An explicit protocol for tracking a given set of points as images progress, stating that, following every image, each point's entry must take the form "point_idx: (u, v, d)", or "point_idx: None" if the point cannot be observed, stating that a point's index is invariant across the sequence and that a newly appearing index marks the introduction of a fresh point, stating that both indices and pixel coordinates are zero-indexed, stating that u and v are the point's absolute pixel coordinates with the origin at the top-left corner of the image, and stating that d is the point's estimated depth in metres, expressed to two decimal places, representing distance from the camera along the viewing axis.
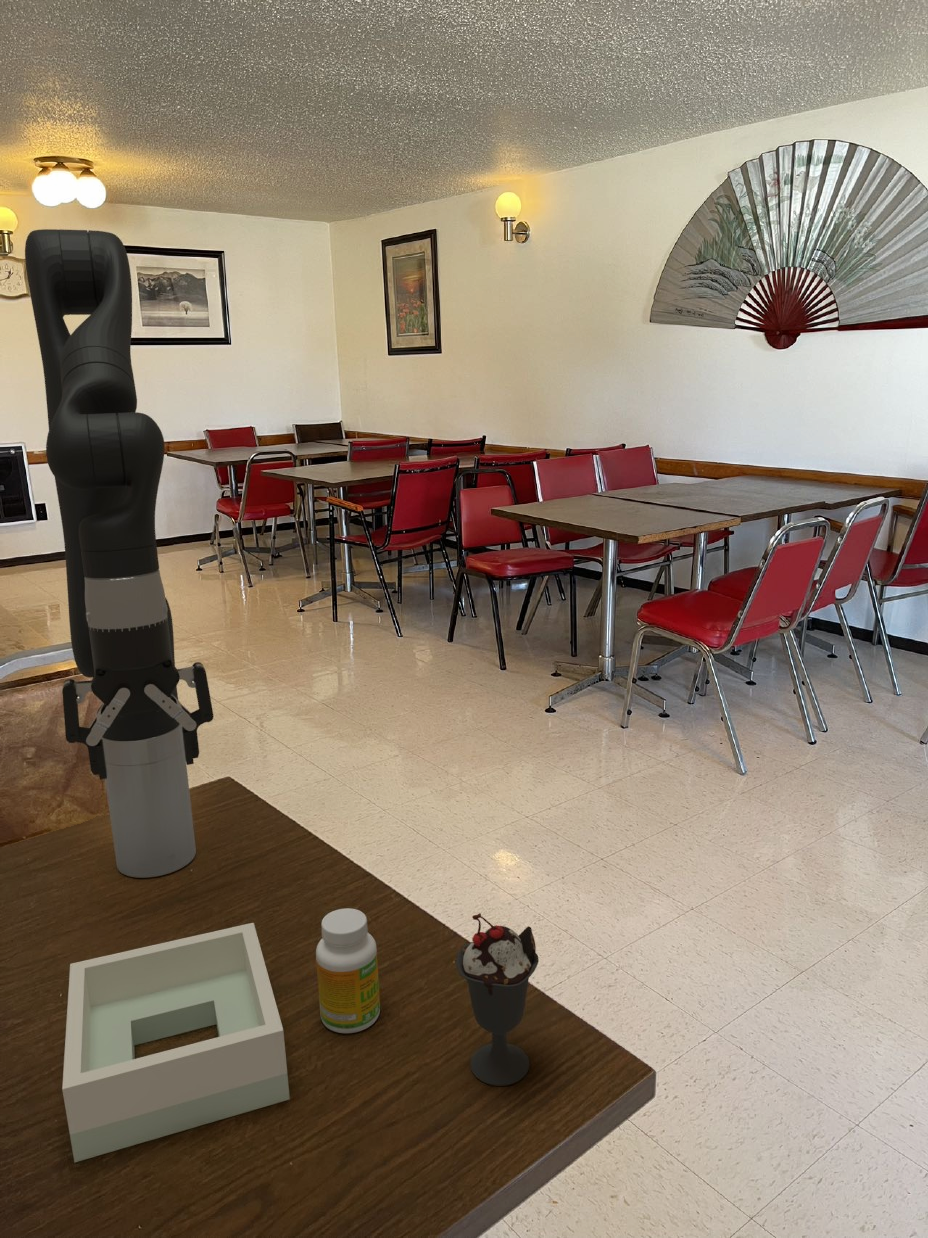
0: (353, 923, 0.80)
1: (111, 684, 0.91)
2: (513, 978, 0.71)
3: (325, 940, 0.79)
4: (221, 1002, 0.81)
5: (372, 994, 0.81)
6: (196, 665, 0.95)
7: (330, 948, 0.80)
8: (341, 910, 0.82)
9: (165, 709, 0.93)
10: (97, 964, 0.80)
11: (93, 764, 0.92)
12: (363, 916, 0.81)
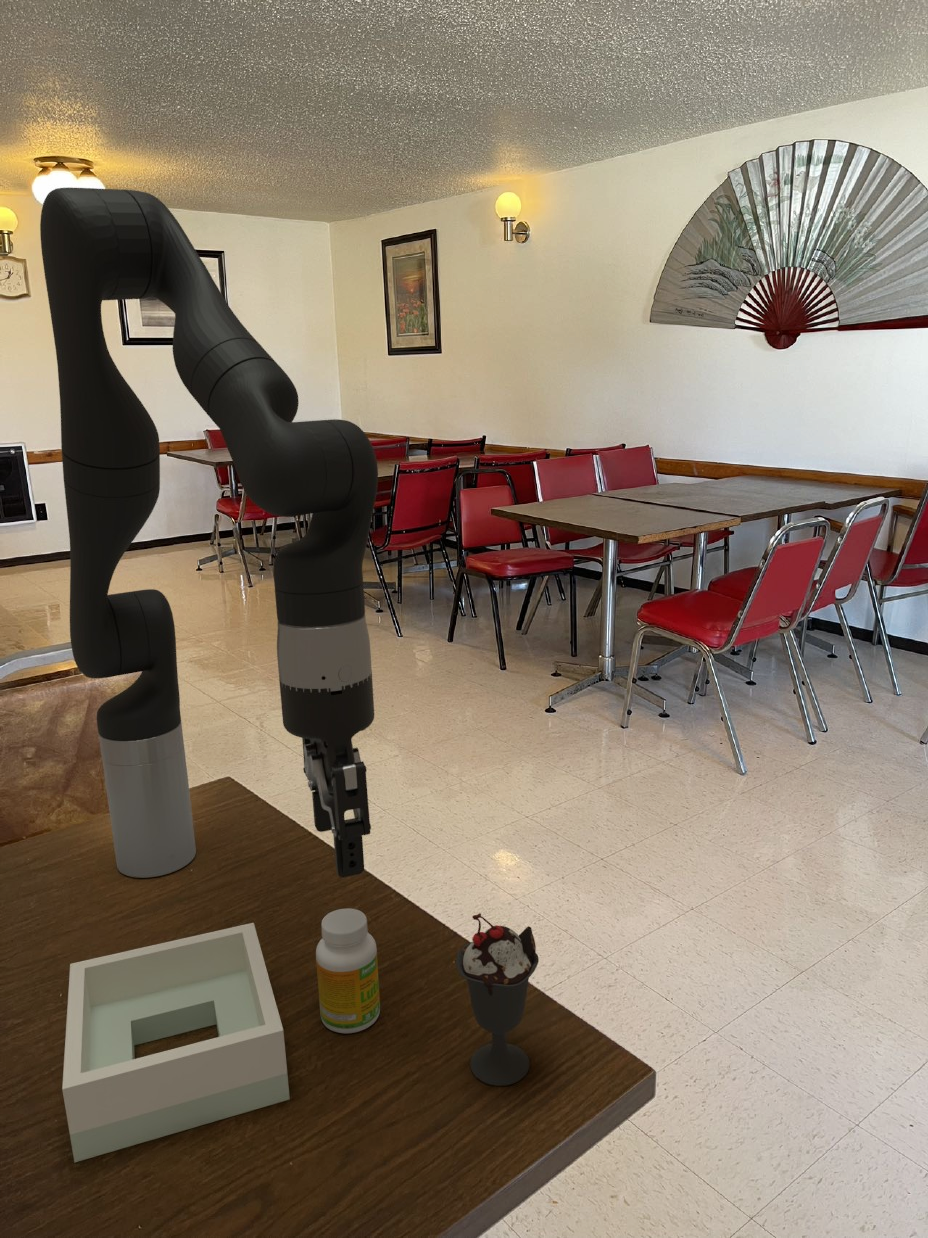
0: (353, 923, 0.80)
1: None
2: (513, 978, 0.71)
3: (325, 940, 0.79)
4: (221, 1002, 0.81)
5: (372, 994, 0.81)
6: None
7: (330, 948, 0.80)
8: (341, 910, 0.82)
9: None
10: (97, 964, 0.80)
11: None
12: (363, 916, 0.81)
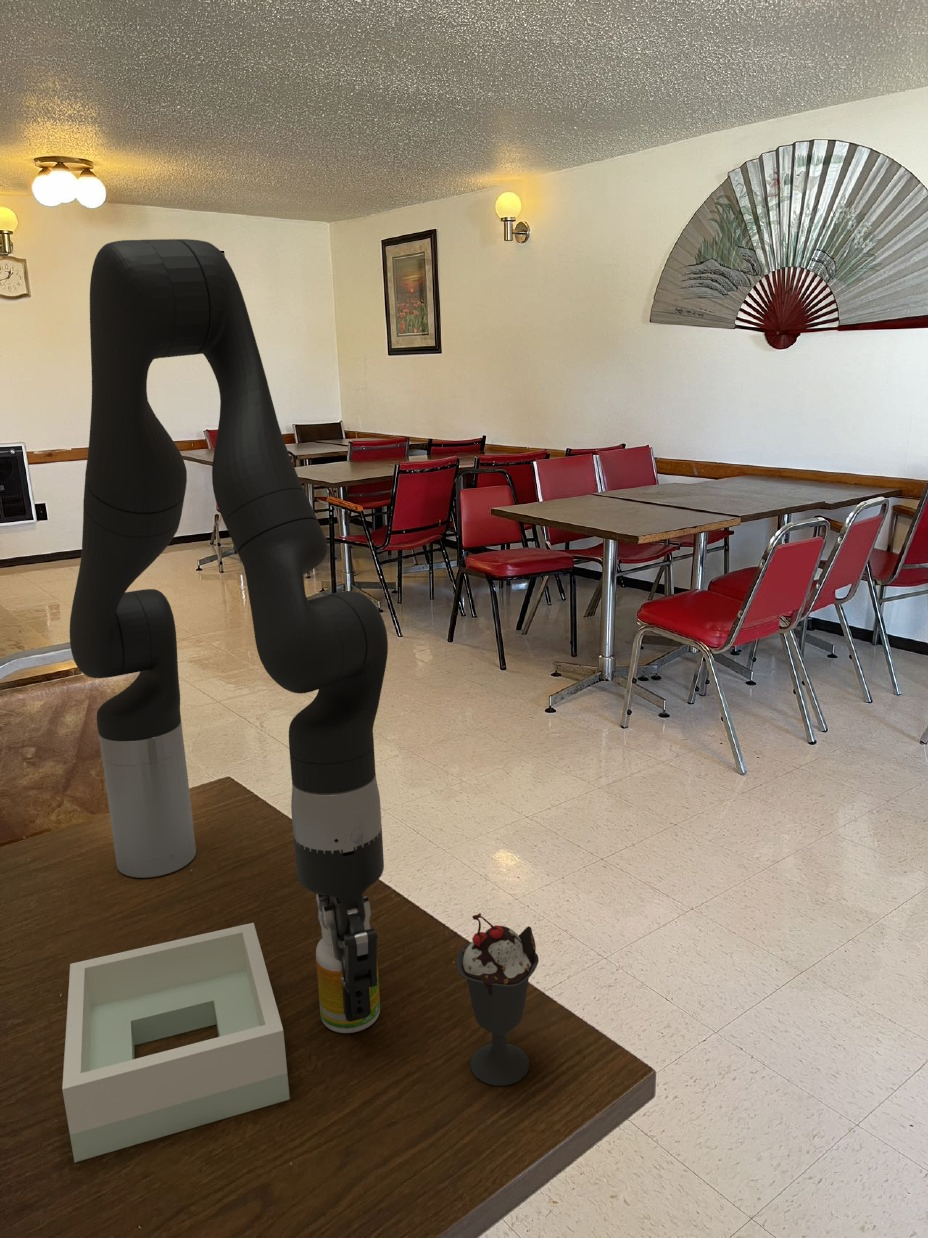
0: None
1: None
2: (513, 978, 0.71)
3: (325, 940, 0.79)
4: (221, 1002, 0.81)
5: (372, 993, 0.81)
6: None
7: (329, 947, 0.80)
8: None
9: None
10: (97, 964, 0.80)
11: None
12: None
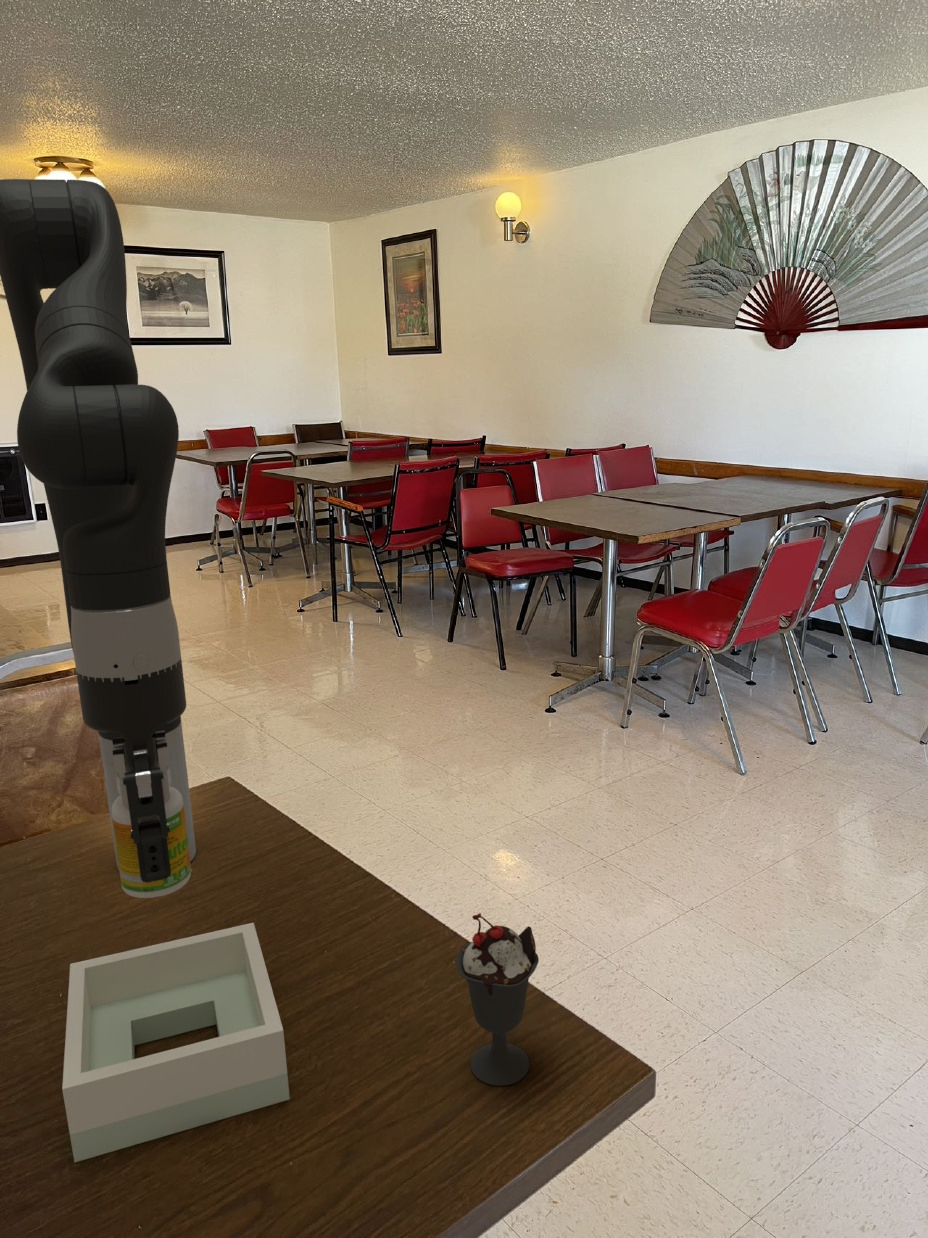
0: None
1: None
2: (513, 978, 0.71)
3: (119, 791, 0.70)
4: (221, 1002, 0.81)
5: (176, 854, 0.71)
6: None
7: None
8: None
9: None
10: (97, 964, 0.80)
11: (163, 861, 0.69)
12: (166, 767, 0.72)
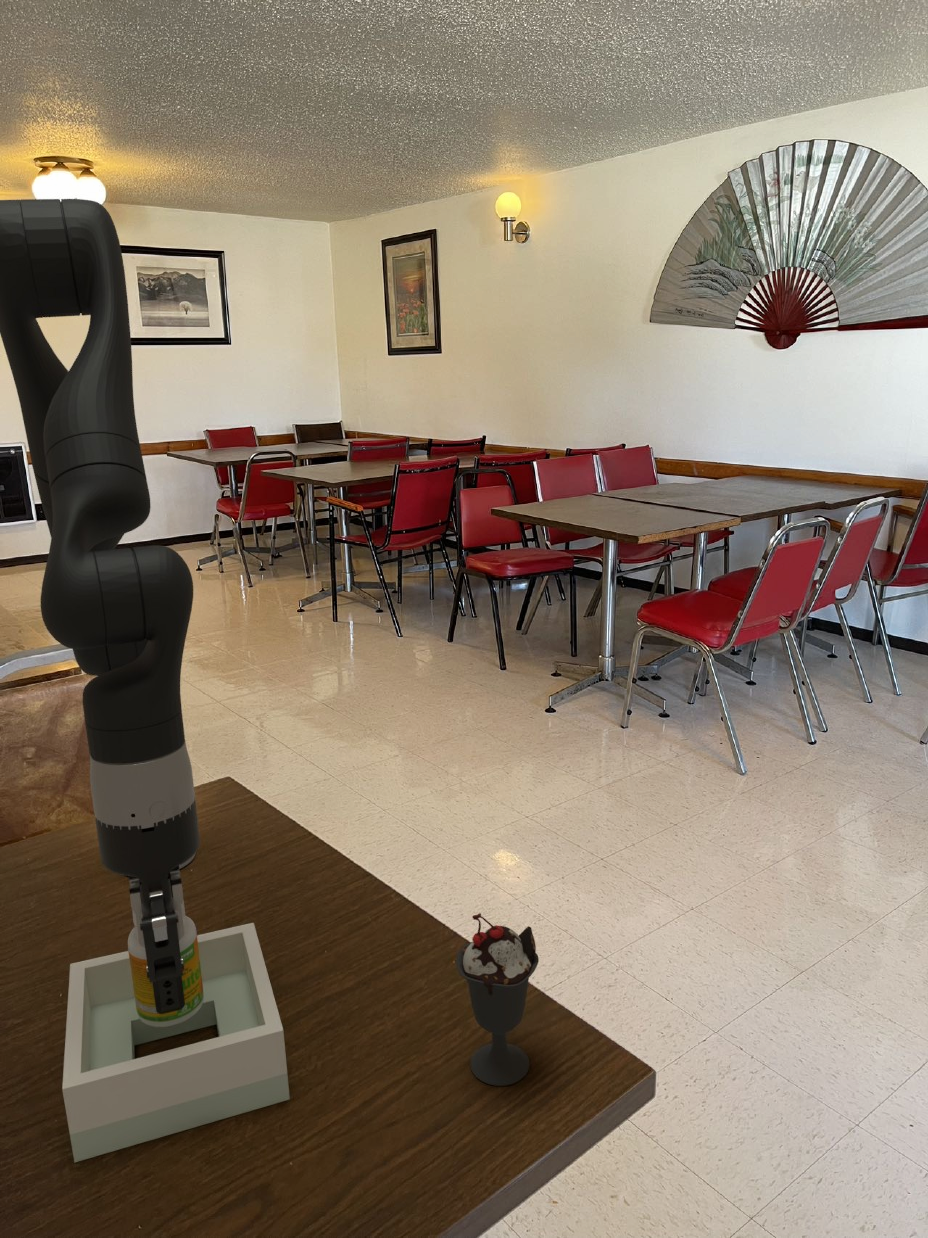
0: None
1: None
2: (513, 978, 0.71)
3: (135, 925, 0.73)
4: (221, 1002, 0.81)
5: (189, 984, 0.74)
6: None
7: None
8: None
9: None
10: (97, 964, 0.80)
11: (178, 994, 0.72)
12: None
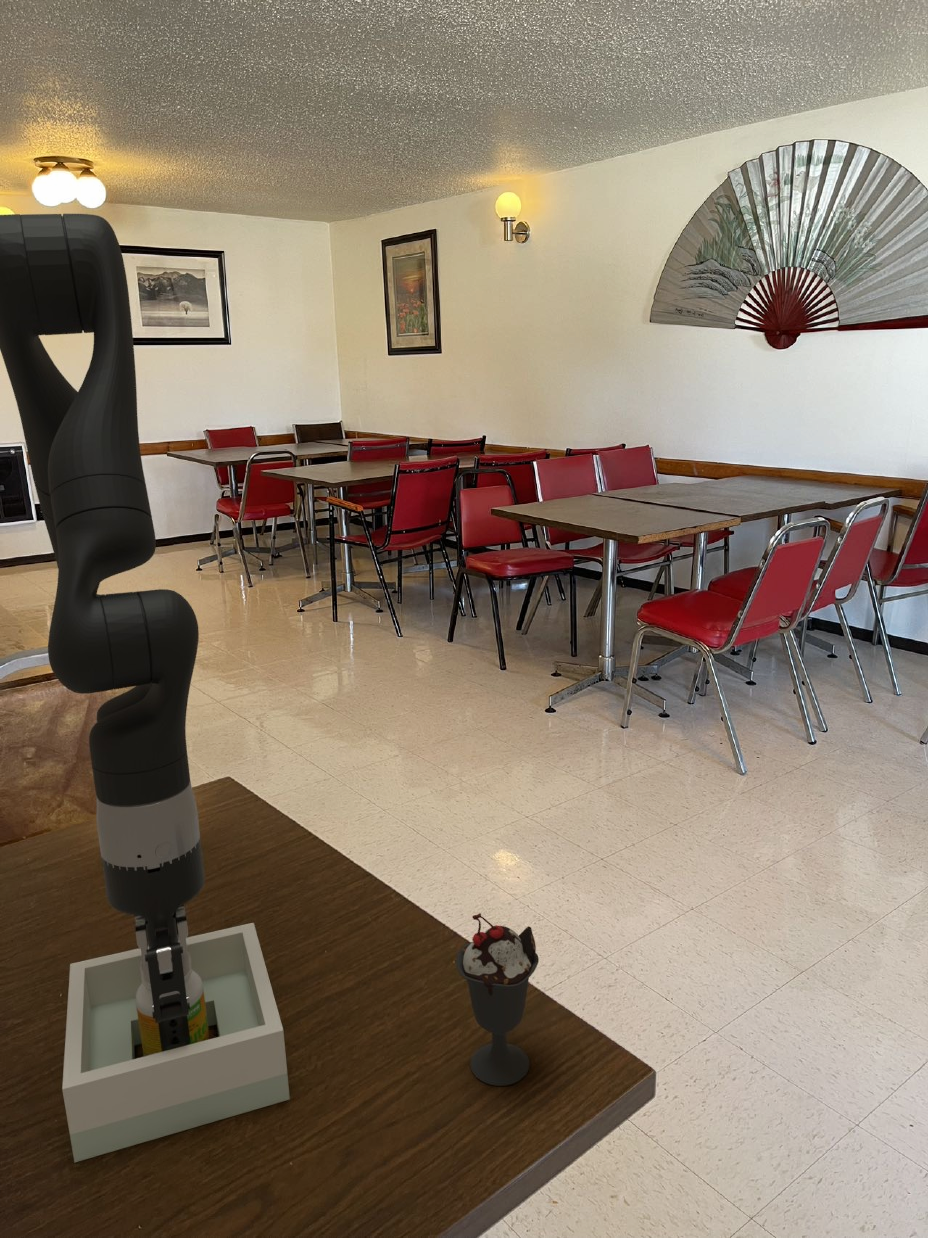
0: None
1: None
2: (513, 978, 0.71)
3: (143, 983, 0.74)
4: (221, 1002, 0.81)
5: (196, 1039, 0.76)
6: None
7: (148, 991, 0.75)
8: None
9: None
10: (97, 964, 0.80)
11: (183, 1032, 0.72)
12: None
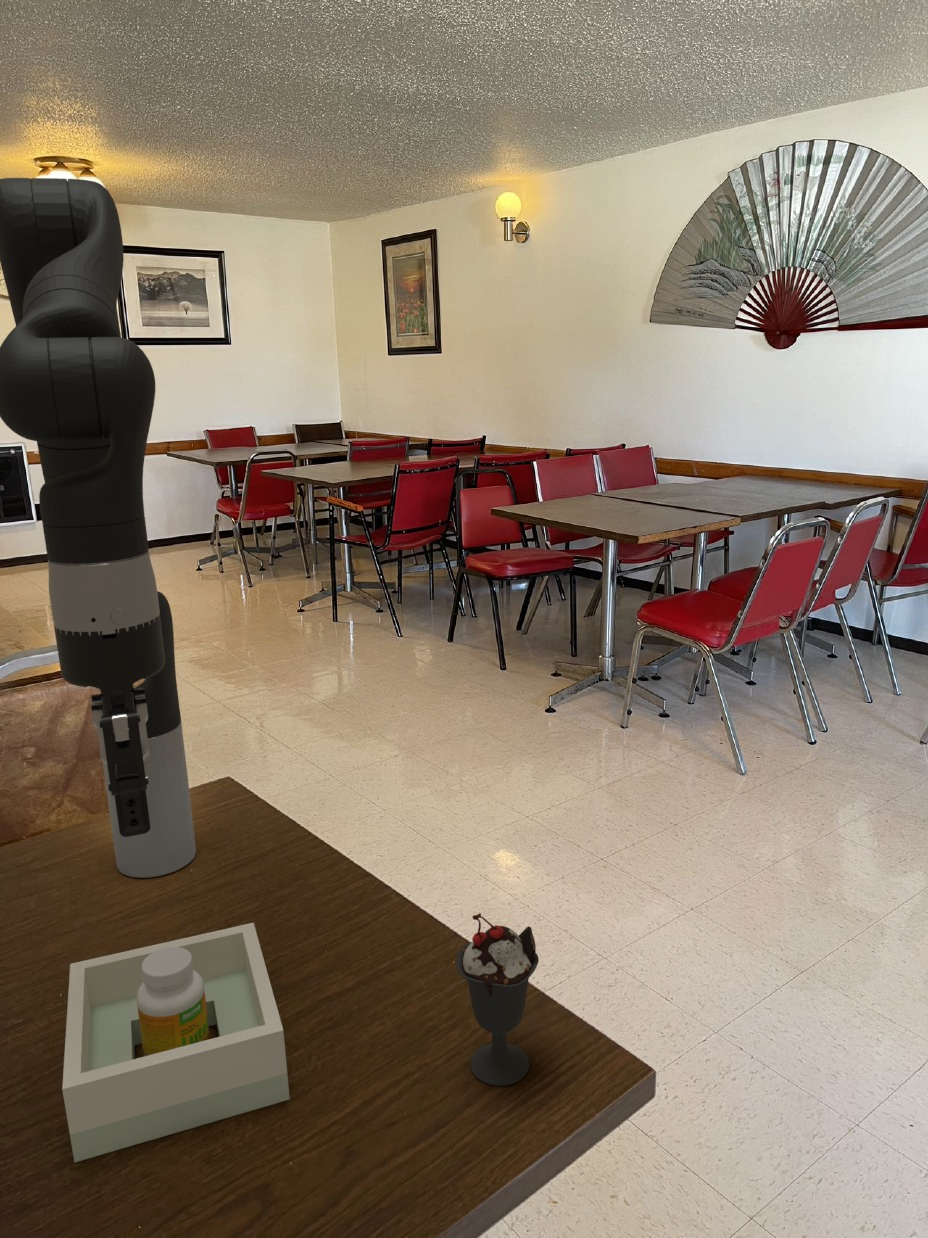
0: (175, 964, 0.75)
1: None
2: (513, 978, 0.71)
3: (144, 982, 0.74)
4: (221, 1002, 0.81)
5: (197, 1039, 0.76)
6: None
7: (149, 990, 0.75)
8: (167, 949, 0.77)
9: None
10: (97, 964, 0.80)
11: (142, 815, 0.68)
12: (188, 956, 0.76)
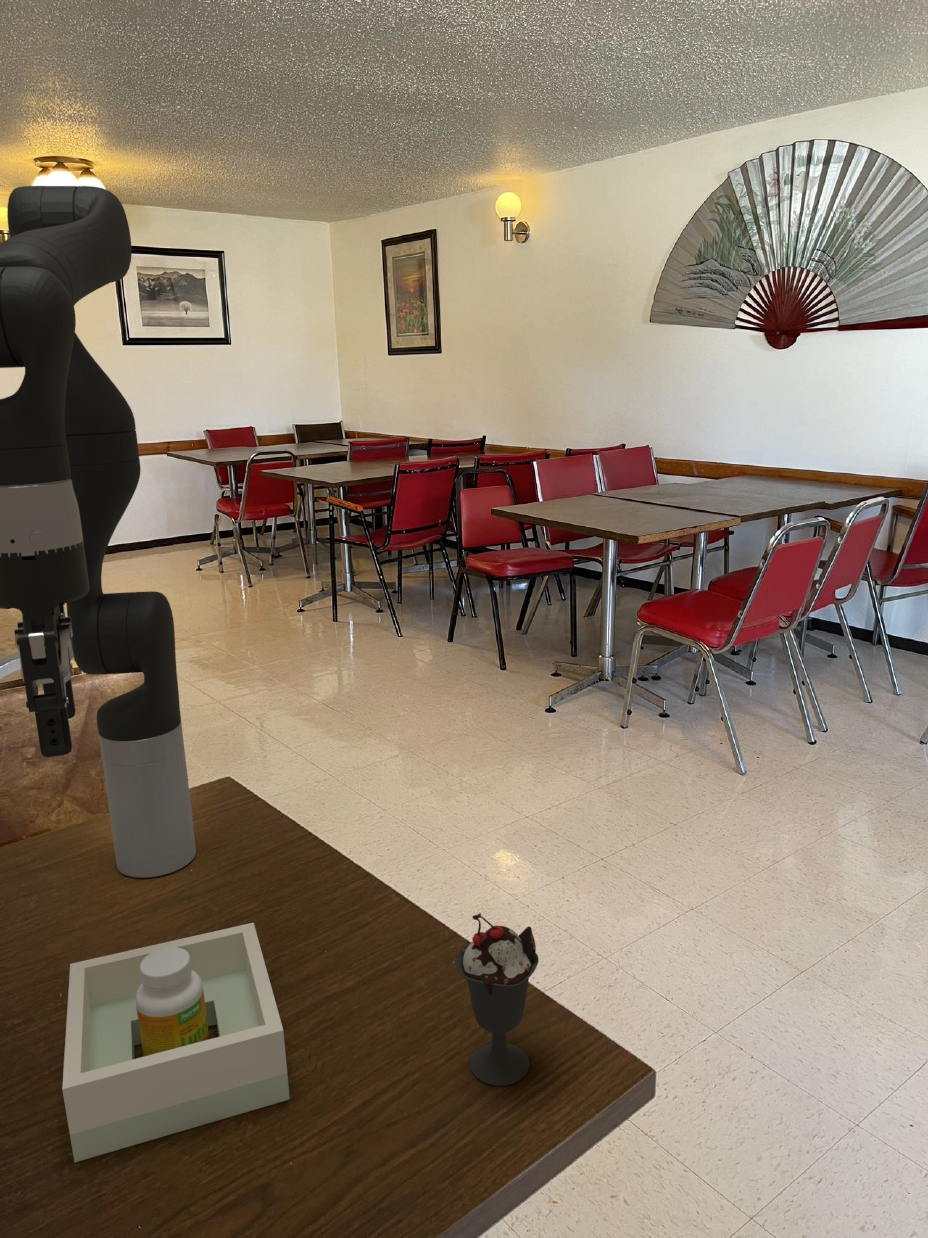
0: (173, 964, 0.75)
1: (56, 624, 0.71)
2: (513, 978, 0.71)
3: (143, 983, 0.74)
4: (221, 1002, 0.81)
5: (196, 1039, 0.76)
6: None
7: (148, 991, 0.75)
8: (166, 949, 0.77)
9: (72, 647, 0.76)
10: (97, 964, 0.80)
11: (63, 735, 0.70)
12: (186, 956, 0.76)
